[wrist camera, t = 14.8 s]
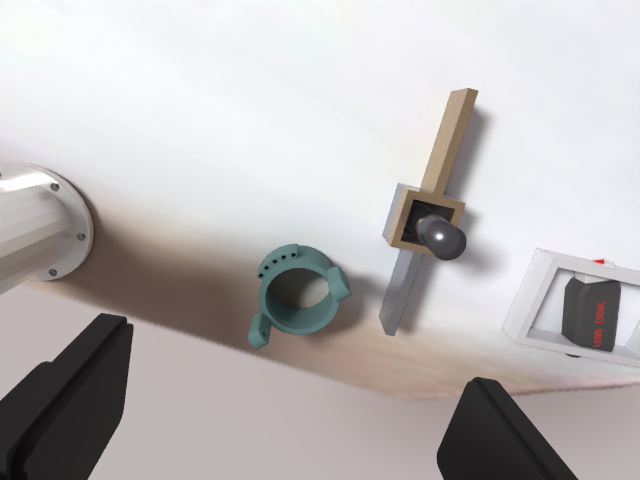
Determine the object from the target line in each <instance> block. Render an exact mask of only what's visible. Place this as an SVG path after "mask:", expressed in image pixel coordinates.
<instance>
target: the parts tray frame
mask: <svg viewBox="0 0 640 480" xmlns="http://www.w3.org/2000/svg"><path fill="white" fill-rule="evenodd" d="M601 265H604V264H602V263H598V262H594V261H591V260H588V259H583V258H579V257H575V256H570V255H566V254H562V253H557V252H553V251H549V250H544V249H540V248H536V251H535V253H534V255H533V258H532V260H531V262H530V264H529V267H528V269H527V271H526V273H525V276H524V278H523V280H522V283H521V285H520V287H519V289H518V292H517V294H516V296H515V299H514V301H513V303H512V305H511V308H510V310H509V312H508V314H507V317H506V319H505V321H504V324H503V326H502V328H501V330H502V331H503V332H504V333H505V334H506V335H507V336H508V337H509V338H510V339H511V340H512V341H513V342H514V343H516V344H521V345H526V346H531V347H536V348H541V349H546V350H551V351H557V352H562V353H567V354H572V355H577V356H582V357H587V358H592V359H597V360H602V361H607V362H612V363H618V364H623V365H628V366H633V367H638V368H640V321H639V323H638V325H637V327H636V328H635V330H634V332H633V334H632V336H631V337H630V339H629V341H628V343H627V344H626V346H625V347H623V346H618V345H614V349H613V351H612V352H606V351H601V350H596V349H590V348H585V347H581V346H578V345H576V344H573V343H572V342H571V341H570V340H568V339H567V338H566V337H565V336H563V335H562V334H559V333H554V332H549V331H544V330H539V329H534V328H530V326H531V324H532V322H533V320H534V318H535V316H536V314H537V311H538V309H539V307H540V305H541V303H542V301H543V298H544V296H545V294H546V292H547V290H548V288H549V286H550V283H551V281H552V279H553V277H554V275H555V273H556V271H557V268H558V267H560V268H564V269H569V270H573V271H578V272H582V273H586V274H591V275H595V276H600V277H604V278H609V279H613V280H618V281H622V282H626V283H631V284H635V285H640V271H636V270H631V269H627V268H623V267H618V266H615V268H610V267H606V266H601Z"/></svg>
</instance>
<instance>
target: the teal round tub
mask: <svg viewBox="0 0 640 480" xmlns="http://www.w3.org/2000/svg"><path fill="white" fill-rule="evenodd" d="M292 268H306V269H310V270H313V271H315V272H317V273H319V274H320V275H322V276H323V277H324V278H325V279H326V280H327V281H328V284H329V290H330V292H329V293H328V295H327V296H326V297H325V299H324V300H322V301H321V302H320V303H318V304H317V305H315V306H312V307H309V308H304V309H296V308H291V307H287V306H285V305H283V304H281V303H280V302H279V301H277V300H276V299H275V298H274V297H273V295H272V294H271V292H270V290H269V288H268V285H269V284H270V282H271V281H272V280H273V279H274V277H276V276H277V275H278V274H280V273H281V272H283V271H285V270H289V269H292ZM257 277H258V278H260V279H263V280H262V284H261V288H260V292H259V305H260V309H261V310H260V311H259V312H258V313H256V314H255V315H254V316H253V318H252V322H251V326H250V329H249V333H248V340H249V342H250V344H251V345H252V347H253V348H255V349H259V348H261V347H262V346H264V345H266V344H268V342H269V336H270V330H271V325H272V326H274V327H275V328H277V329H279V330H281V331H283V332H286V333H289V334H295V335H303V334H309V333H313V332H315V331H318V330H320V329H321V328H323V327H324V326H326V325H327V324H328V323H329V322H330V321H331V320H332V319H333V317H334V316H335V314H336V312H337V309H338V306H339V302H340V301H341V300H343V299H345V298H347V297H348V296H350V295H351V291H350V288H349V284H348V280H347V277H346V276H345V274H344V273H343V271H342V270H341V268H340V267H339V266H336V267H333V266H332V265H331V263H330V262H329V260H328V259H327V257H326V256H325V255H324V254H323V253H322V252H320V251H319V250H317V249H315V248H312V247H309V246H302V245H301V246H298V244H290V245H285V246H282V247H279V248H277V249H276V250H274V251H272V252H271V253H270V254H269V255H267V257H266V258H265V259H264V260H263V262H262V263H261V265H260V267H259V271H258V274H257Z"/></svg>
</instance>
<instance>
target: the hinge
mask: <svg viewBox="0 0 640 480" xmlns="http://www.w3.org/2000/svg"><path fill="white" fill-rule="evenodd" d="M477 94H478V91H477V90H474V89H470V88H466V89H462V90H457V91H452V92H451V94H450V97H449V100H448V103H447V106H446V110H445V113H444V116H443V119H442V122H441V125H440V128H439V131H438V134H437V137H436V141H435V144H434V147H433V150H432V153H431V156H430V159H429V162H428V165H427V168H426V172H425V175H424V178H423V181H422V184H421V187H420V188H417V187H413V186H409V185H405V184H400V183H398V185H397V189H396V192H395V195H394V199H393V202H392V205H391V209H390V212H389V215H388V218H387V222H386V225H385V228H384V232H383V236H384V238H385V239H386V241H387V242H388V244H389V245H390V246H391V247H395V248H400V252H399V255H398V258H397V262H396V265H395V268H394V271H393V274H392V277H391V280H390V283H389V286H388V289H387V293H386V296H385V299H384V302H383V305H382V308H381V311H380V314H379V318H380V321H381V323H382V326H383V329H384V331H385V334H386V335H390V336H395V333H396V330H397V327H398V324H399V321H400V319H401V316H402V313H403V310H404V307H405V304H406V301H407V298H408V295H409V292H410V289H411V286H412V284H413V281H414V278H415V275H416V272H417V269H418V266H419V263H420V260H421V257H422V254H427V255H432V256H435V255H434V254H433V253H432V252H431V251H430V250H429V249H428V248H427V247H426V246H425V245H424V244H423V243H422V242H421V241H420V240H419V239H418V238H417V237H416V236H415V235H412V234H408V233H403V231H404V227H405V224H406V221H407V218H408V215H409V212H410V209H411V206H412V202H413V199H415V200H419V201H423V202H428V203H432V204H436V205H439V208H438V211H437V214H438V215H440V216H441V217H442V218H444V219H445V220H447V221H448V222H450V223H451V224H453V225H454V226H456V227H457V225H458V223H459V220H460V217H461V214H462V212H463V209H464V206H465V203H464V202H462V201H460V200H458V199H456V198H454V197H452V196H450V195H446V194H443V193H444V190H445V187H446V184H447V181H448V179H449V176H450V173H451V170H452V167H453V164H454V161H455V158H456V155H457V152H458V149H459V146H460V144H461V141H462V138H463V135H464V132H465V129H466V126H467V123H468V120H469V117H470V114H471V111H472V109H473V106H474V103H475V100H476V97H477Z"/></svg>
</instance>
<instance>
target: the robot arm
mask: <svg viewBox="0 0 640 480" xmlns="http://www.w3.org/2000/svg"><path fill="white" fill-rule="evenodd" d="M93 238H94V228H93V221H92V218H91V215H90V212H89V210H88V208H87V206H86V204H85V202H84V200H83V199H82V197H81V196H80V195H79V193H78V192H77V191H76V190H75V189H74V188H73V187H72V186H71V185H70V184H69V183H68V182H67V181H65V180H64V179H62V178H61V177H60V176H58V175H57V174H55V173H53V172H51V171H49V170H47V169H45V168H41V167H38V166H35V165H30V164H23V163H14V164H4V165H0V295H1V294H3V293H5V292H7V291H8V290H10V289H12V288H14V287H15V286H17V285H19V284H21V283H23V282H24V281H26V280H34V281H46V280H53V279H57V278H60V277H62V276H64V275H67V274H69V273H70V272H72V271H73V270H75V269H76V268H78V267H79V266H80V265H81V264H82V263H83V262H84V261H85V259H86V258H87V256H88V255H89V253H90V250H91V247H92V245H93ZM132 337H133V324H129V323H127V318H126V317H123V316H117V315H111V314H105V313H101V314H100V315H98V316H97V317H96V318H95V319H94V320H93V321H92V322H91V323H90V324H89V325H88V326H87V328H85V329H84V330H83V331H82V332H81V333H80V334H79V336H77V337H76V338H75V339H74V340H73V341H72V342H71V343H70V344H69V345H68V346H67V347H66V348H65V349H64V350H63V351H62V352H61V353H60V354H59V355H58V356H57V357H56V358H55V359H54V360H53V361H52V362H47V361H46V362H42V363H40V364H39V365H38V366H36V367H35V368H34V369H33V370H32V371H31V372H30V373H29V374H28V375H27V376H26V377H25V378H24V379H23V380H22V381H21V382H19V383H18V384H17V386H15V388H13V389H12V390H11V391H10V392H9V393H8V394H7V395H6V396H5V397H4V398H3V399H2V400H1V401H0V480H87V479H88V477H89V476H90V474H91V472H92V471H93V469H94V467H95V465H96V464H97V462H98V460H99V458H100V457H101V455H102V453H103V451H104V449H105V448H106V446H107V444H108V442H109V440H110V439H111V437H112V435H113V434H114V432H115V430H116V428H117V427H118V425H119V423H120V420H121V418H122V414H123V410H124V403H125V394H126V386H127V378H128V369H129V362H130V353H131V345H132ZM437 464H438V467H439V469H440V472H441V474H442V476H443V479H444V480H578V479H577V477H576V476H575V475H574V474H573V473H572V471H571V470H570V469H569V468H568V466H567V465H566V464H565V463H564V462H563V460H562V459H561V458H560V457H559V455H558V454H557V453H556V452H555V450H554V449H553V448H552V447H551V446H550V444H549V443H548V442H547V441H546V439H545V438H544V437H543V436H542V435H541V433H540V432H539V431H538V430H537V428H536V427H535V426H534V425H533V424H532V422H531V421H530V420H529V419H528V417H527V416H526V415H525V414H524V413H523V411H522V410H521V409H520V408H519V407H518V405H517V404H516V403H515V402H514V400H513V399H512V398H511V397H510V395H509V394H508V393H507V392H506V390H505V389H504V388H503V387H502V386H501V384H500V383H499V382H498V381H496V380H492V379H486V378H480V377H475V378H474V379H473V380H472V381H469V382H468V383H467V385H466V386H465V389H464V391H463V393H462V396H461V398H460V400H459V403H458V405H457V408H456V410H455V412H454V414H453V417H452V419H451V422H450V424H449V426H448V428H447V431H446V433H445V435H444V438H443V440H442V442H441V445H440V447H439V449H438V452H437Z"/></svg>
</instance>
